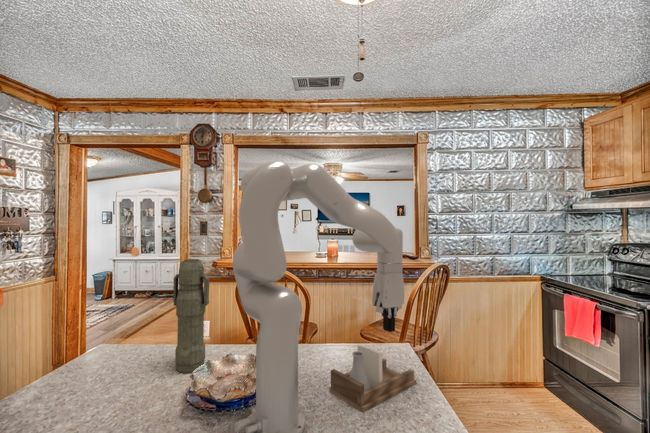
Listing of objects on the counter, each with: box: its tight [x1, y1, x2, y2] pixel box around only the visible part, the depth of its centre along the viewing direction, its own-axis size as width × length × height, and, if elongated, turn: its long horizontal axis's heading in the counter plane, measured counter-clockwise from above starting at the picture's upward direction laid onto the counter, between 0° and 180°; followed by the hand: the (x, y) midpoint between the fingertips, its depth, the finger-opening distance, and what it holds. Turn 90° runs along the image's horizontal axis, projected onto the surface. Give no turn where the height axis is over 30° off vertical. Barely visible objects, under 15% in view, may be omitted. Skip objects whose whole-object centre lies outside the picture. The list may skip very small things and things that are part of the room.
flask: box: [349, 350, 371, 391], centre depth 84 cm, size 7×7×10 cm
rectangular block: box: [357, 343, 383, 387], centre depth 87 cm, size 1×8×10 cm, turn 39°
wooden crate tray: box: [328, 357, 417, 413], centre depth 88 cm, size 22×13×6 cm, turn 129°
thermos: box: [172, 258, 210, 375], centre depth 102 cm, size 9×12×35 cm
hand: (388, 330), depth 93 cm, fingers closed
